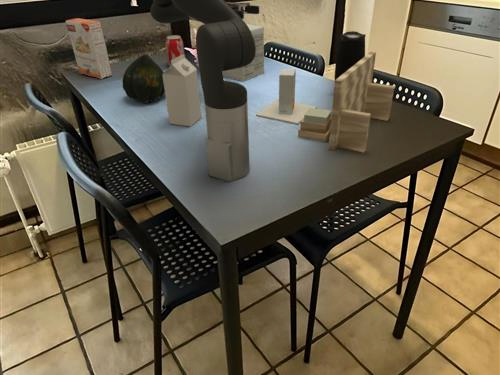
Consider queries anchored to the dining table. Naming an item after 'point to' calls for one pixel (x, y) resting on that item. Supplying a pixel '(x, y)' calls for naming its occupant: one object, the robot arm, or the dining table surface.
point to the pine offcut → (314, 135)
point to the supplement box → (257, 64)
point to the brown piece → (358, 105)
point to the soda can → (174, 47)
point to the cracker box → (89, 47)
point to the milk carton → (182, 92)
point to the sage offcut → (317, 116)
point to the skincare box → (287, 91)
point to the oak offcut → (315, 127)
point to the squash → (144, 80)
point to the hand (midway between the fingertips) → (251, 12)
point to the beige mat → (293, 118)
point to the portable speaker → (349, 51)
